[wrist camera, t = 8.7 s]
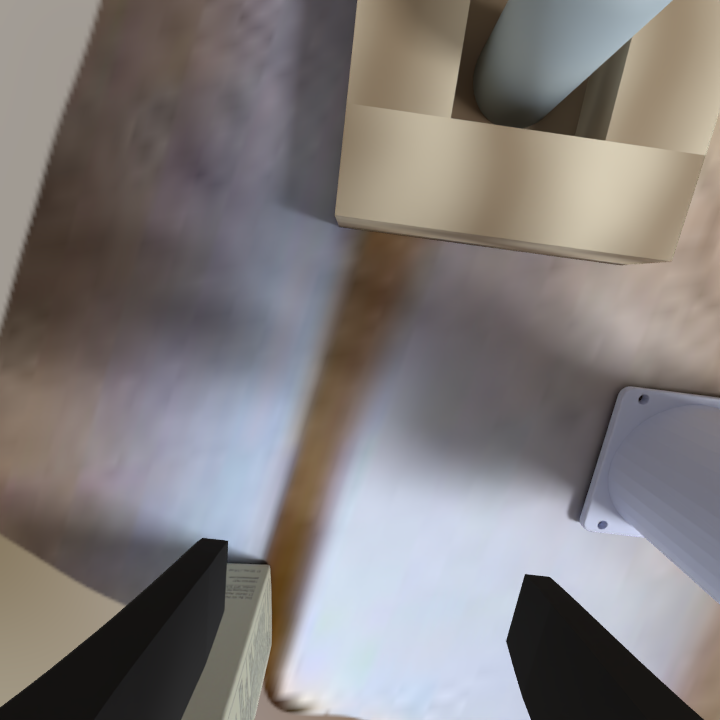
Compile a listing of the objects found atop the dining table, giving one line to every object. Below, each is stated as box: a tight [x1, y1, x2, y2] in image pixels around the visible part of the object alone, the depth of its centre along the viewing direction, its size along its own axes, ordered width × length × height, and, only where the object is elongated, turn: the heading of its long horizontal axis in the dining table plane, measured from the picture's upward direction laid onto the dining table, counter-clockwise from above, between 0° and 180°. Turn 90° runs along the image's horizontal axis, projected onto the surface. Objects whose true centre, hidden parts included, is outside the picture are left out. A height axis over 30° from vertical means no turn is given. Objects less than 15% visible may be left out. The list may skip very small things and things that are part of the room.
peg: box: [473, 0, 673, 129], centre depth 11 cm, size 4×4×6 cm
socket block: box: [335, 0, 720, 265], centre depth 13 cm, size 13×13×3 cm
